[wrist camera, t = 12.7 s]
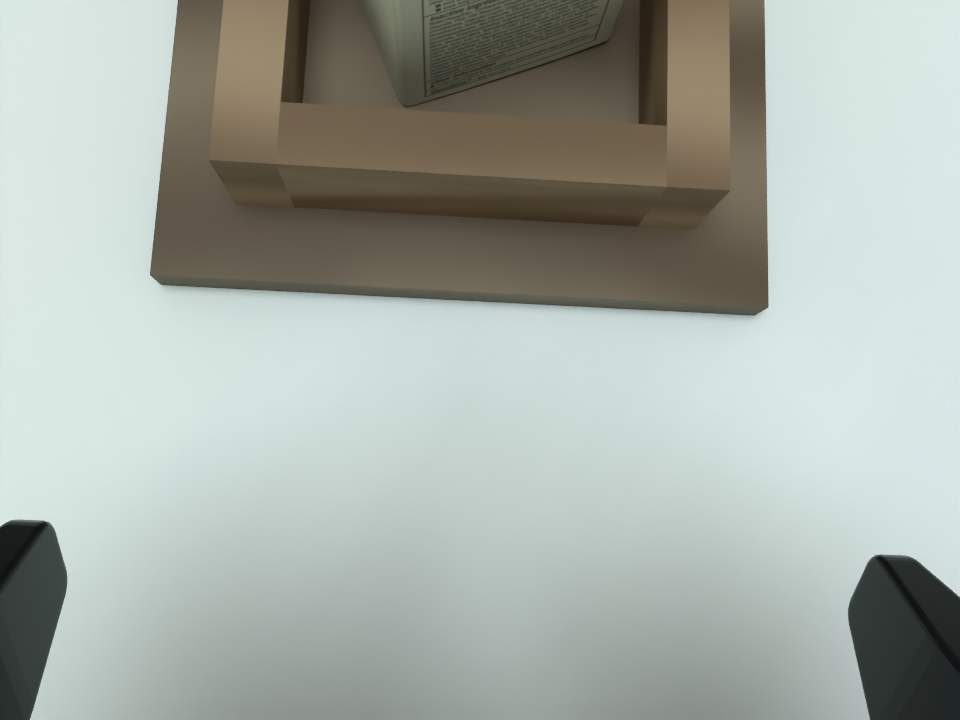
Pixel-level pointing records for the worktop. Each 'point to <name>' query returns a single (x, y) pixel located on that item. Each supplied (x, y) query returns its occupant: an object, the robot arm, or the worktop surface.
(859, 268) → the worktop surface
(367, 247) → the socket
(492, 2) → the skincare box
